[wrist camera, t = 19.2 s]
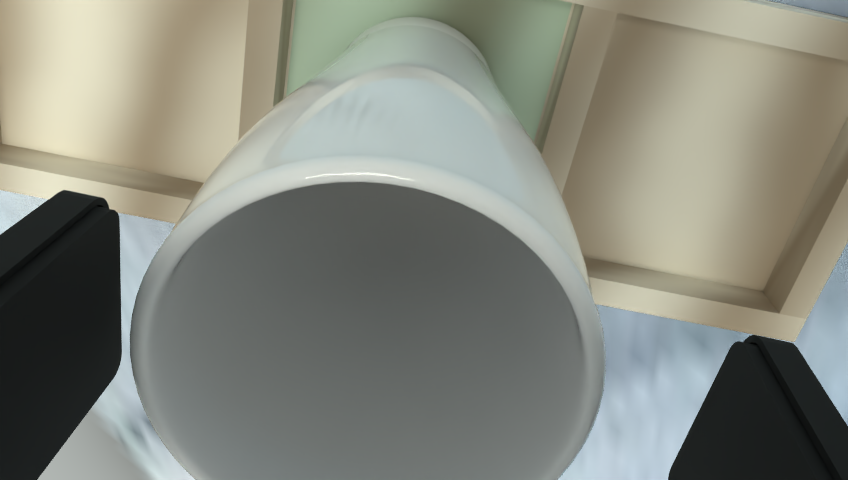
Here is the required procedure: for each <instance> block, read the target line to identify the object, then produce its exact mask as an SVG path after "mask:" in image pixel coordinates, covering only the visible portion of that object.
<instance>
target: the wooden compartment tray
mask: <svg viewBox="0 0 848 480" xmlns="http://www.w3.org/2000/svg"><path fill="white" fill-rule="evenodd" d="M399 17H424V18H430V19H433V20H437V21H440V22H443V23H445V24H447V25H449V26H451V27H453V28H455V29H456V30H458V31H459V32H461V33H462V34H464V35H465V36H466V37H467V38H469V39H470V40H471V41H472V42H473V43H474V44H475V46H476V47H477V48H478V49H479V51H480V52H481V54H482V55H483V57H484V58H485V60H486V62H487V64H488V66H489V68H490V70H491V73H492V75H493V79H494V82H495V83H496V85H497V86H498V88H499V90H500V91H501V93H502V94H503V96H504V97H505V99H506V101H507V102H508V104H509V105H510V107H511V108H512V110H513V111H514V113H515V114H516V116H517V117H518V119H519V120H520V122H521V123H522V125H523V126H524V128H525V129H526V131H527V132H528V134H529V135H530V137H531V138H532V140H533V142H534V143H535V145H536V146H537V148H538V150H539V151H540V153H541V155H542V157H543V158H544V160H545V162H546V164H547V166H548V168H549V170H550V172H551V174H552V175H553V177H554V179H555V182H556V184H557V186H558V188H559V190H560V192H561V195H562V197H563V200H564V202H565V205H566V207H567V210H568V213H569V215H570V218H571V220H572V223H573V226H574V229H575V231H576V234H577V237H578V240H579V244H580V247H581V250H582V253H583V257H584V261H585V264H586V268H587V272H588V276H589V279H590V283H591V287H592V291H593V295H594V299H595V303H596V304H598V305H603V306H608V307H614V308H619V309H624V310H629V311H634V312H640V313H645V314H650V315H655V316H661V317H666V318H671V319H676V320H681V321H687V322H692V323H697V324H702V325H707V326H713V327H718V328H723V329H728V330H734V331H739V332H744V333H749V334H754V335H760V336H765V337H770V338H775V339H781V340H786V341H791V342H795V340H796V338H797V336H798V335H799V333H800V331H801V329H802V327H803V325H804V323H805V321H806V319H807V318H808V316H809V314H810V312H811V310H812V308H813V306H814V304H815V302H816V301H817V299H818V297H819V295H820V293H821V291H822V289H823V287H824V285H825V284H826V282H827V280H828V278H829V276H830V274H831V272H832V270H833V268H834V267H835V265H836V263H837V261H838V259H839V257H840V255H841V253H842V251H843V250H844V248H845V246H846V244H847V242H848V18H847V17H843V16H838V15H833V14H829V13H824V12H819V11H815V10H810V9H805V8H801V7H796V6H791V5H787V4H782V3H777V2H772V1H768V0H0V190H3V191H9V192H14V193H19V194H24V195H29V196H35V197H40V198H45V199H50V198H51V197H53V196H54V195H56V194H57V193H58V192H60V191H62V190H68V191H73V192H78V193H83V194H87V195H92V196H97V197H102V198H104V199H105V200H106V201H107V203H108V205H109V209H112V210H115V211H116V212H118V213H123V214H129V215H134V216H139V217H144V218H149V219H155V220H160V221H165V222H170V223H175V224H176V223H177V222H178V220H179V219H180V217H181V215H182V214H183V213H184V211H185V210H186V208H187V207H188V205H189V204H190V202H191V201H192V199H193V198H194V197H195V195H196V194H197V192H198V191H199V189H200V188H201V186H202V185H203V184H204V182H205V181H206V180H207V178H208V177H209V176H210V174H211V173H212V172H213V171H214V169H215V168H216V167H217V166H218V164H219V163H220V162H221V161H222V159H223V158H224V157H225V156H226V155H227V154H228V153H229V151H230V150H231V149H232V148H233V147H234V146H235V145H236V143H237V142H238V141H239V140H240V139H241V138H242V137H243V136H244V134H245V133H246V132H247V131H248V130H249V129H250V128H251V127H252V126H253V125H254V124H256V123H257V122H258V121H259V120H260V119H261V118H262V117H263V116H264V115H265V114H266V113H267V112H269V111H270V110H271V109H272V108H273V107H274V106H275V105H276V104H278V103H279V102H280V101H281V100H283V99H284V98H285V97H286V96H288V95H289V94H290V93H292V92H293V91H294V90H296V89H297V88H298V87H300V86H301V85H302V84H304V83H305V82H306V81H308V80H309V79H310V78H312V77H313V76H314V75H316V74H317V73H318V72H319V71H321V70H322V69H323V68H325V67H326V66H327V65H329V64H330V63H331V62H332V61H334V60H335V59H336V58H337V57H339V56H340V55H341V54H342V53H343V51H344V50H345V49H346V47H347V46H348V45H349V44H350V43H351V42H352V41H353V40H354V39H355V38H356V37H357V36H358V35H360V34H361V33H362V32H364V31H365V30H367V29H368V28H370V27H372V26H374V25H376V24H378V23H380V22H383V21H386V20H389V19H394V18H399Z"/></svg>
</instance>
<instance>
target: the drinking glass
mask: <svg viewBox="0 0 848 480" xmlns="http://www.w3.org/2000/svg"><path fill="white" fill-rule="evenodd" d="M130 356H131V363H132V370H133V376H134V380H135V384H136V388H137V391H138V395H139V397H140V400H141V402H142V405H143V408H144V410H145V412H146V414H147V416H148V418H149V420H150V422H151V424H152V426H153V428H154V430H155V431H156V433H157V434H158V436H159V438H160V439H161V441H162V442H163V444H164V445H165V446H166V448H167V449H168V450H169V452H170V453H171V454H172V455H173V457H174V458H175V459H176V460H177V461H178V462H179V464H180V465H181V466H182V467H183V468H184V469H185V470H186V471H187V472H188V473H189V474H190V475H191V476H192V477H193V478H194V479H195V480H557V479H558V478H559V477H560V476H561V475H562V474H563V473H564V472H565V471H566V469H567V468H568V467H569V466H570V464H571V463H572V462H573V461H574V459H575V458H576V456H577V455H578V453H579V452H580V450H581V449H582V447H583V445H584V444H585V442H586V440H587V438H588V436H589V434H590V432H591V430H592V428H593V425H594V423H595V420H596V417H597V414H598V412H599V408H600V404H601V400H602V396H603V391H604V383H605V374H606V349H605V342H604V334H603V328H602V325H601V321H600V317H599V313H598V309H597V307H596V303H595V299H594V295H593V291H592V287H591V283H590V279H589V276H588V272H587V268H586V264H585V261H584V257H583V253H582V250H581V247H580V244H579V240H578V237H577V234H576V231H575V229H574V226H573V223H572V220H571V218H570V215H569V213H568V210H567V207H566V205H565V202H564V200H563V197H562V195H561V192H560V190H559V188H558V186H557V184H556V182H555V179H554V177H553V175H552V174H551V172H550V170H549V168H548V166H547V164H546V162H545V160H544V158H543V157H542V155H541V153H540V151H539V150H538V148H537V146H536V145H535V143H534V142H533V140H532V138H531V137H530V135H529V134H528V132H527V131H526V129H525V128H524V126H523V125H522V123H521V122H520V120H519V119H518V117H517V116H516V114H515V113H514V111H513V110H512V108H511V107H510V105H509V104H508V102H507V101H506V99H505V97H504V96H503V94H502V93H501V91H500V90H499V88H498V86H497V85H496V83H495V82H494V79H493V75H492V73H491V70H490V68H489V66H488V64H487V62H486V60H485V58H484V57H483V55H482V54H481V52H480V51H479V49H478V48H477V47H476V46H475V44H474V43H473V42H472V41H471V40H470V39H469V38H467V37H466V36H465V35H464V34H462V33H461V32H459V31H458V30H456V29H455V28H453V27H451V26H449V25H447V24H445V23H443V22H440V21H437V20H433V19H430V18H424V17H399V18H394V19H389V20H386V21H383V22H380V23H378V24H376V25H374V26H372V27H370V28H368V29H367V30H365V31H364V32H362V33H361V34H360V35H358V36H357V37H356V38H355V39H354V40H353V41H352V42H351V43H350V44H349V45H348V46H347V47H346V49H345V50H344V51H343V53H342V54H341V55H340V56H339V57H337V58H336V59H335V60H334V61H332V62H331V63H330V64H329V65H327V66H326V67H325V68H323V69H322V70H321V71H319V72H318V73H317V74H316V75H314V76H313V77H312V78H310V79H309V80H308V81H306V82H305V83H304V84H302V85H301V86H300V87H298V88H297V89H296V90H294V91H293V92H292V93H290V94H289V95H288V96H286V97H285V98H284V99H283V100H281V101H280V102H279V103H278V104H276V105H275V106H274V107H273V108H272V109H271V110H270V111H269V112H267V113H266V114H265V115H264V116H263V117H262V118H261V119H260V120H259V121H258V122H257V123H256V124H254V125H253V126H252V127H251V128H250V129H249V130H248V131H247V132H246V133H245V134H244V136H243V137H242V138H241V139H240V140H239V141H238V142H237V143H236V145H235V146H234V147H233V148H232V149H231V150H230V151H229V153H228V154H227V155H226V156H225V157H224V158H223V159H222V161H221V162H220V163H219V164H218V166H217V167H216V168H215V169H214V171H213V172H212V173H211V174H210V176H209V177H208V178H207V180H206V181H205V182H204V184H203V185H202V186H201V188H200V189H199V191H198V192H197V194H196V195H195V197H194V198H193V199H192V201H191V202H190V204H189V205H188V207H187V208H186V210H185V211H184V213H183V214H182V215H181V217H180V219H179V220H178V222H177V223H176V225H175V226H174V228H173V229H172V231H171V232H170V234H169V236H168V237H167V238H166V240H165V241H164V243H163V244H162V245H161V247H160V248H159V250H158V251H157V253H156V254H155V256H154V257H153V259H152V261H151V263H150V265H149V267H148V269H147V271H146V273H145V275H144V277H143V280H142V282H141V285H140V288H139V290H138V293H137V296H136V300H135V305H134V309H133V313H132V320H131V330H130Z"/></svg>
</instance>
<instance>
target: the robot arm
mask: <svg viewBox="0 0 848 480" xmlns="http://www.w3.org/2000/svg"><path fill="white" fill-rule="evenodd" d="M121 354H122V343H121V285H120V227H119V215H118V213H117V212H116V211H115V210H112V209H109V205H108V203H107V201H106V200H105V199H104V198H102V197H97V196H92V195H87V194H83V193H78V192H73V191H68V190H62V191H60V192H58V193H57V194H56V195H54V196H53V197H51V198H50V199H49V200H47V201H46V202H45V203H43V204H42V205H40V206H39V207H38V208H36V209H35V210H34V211H32V212H31V213H30V214H28V215H27V216H25V217H24V218H23V219H21V220H20V221H19V222H17V223H16V224H15V225H13V226H12V227H10V228H9V229H8V230H6V231H5V232H4V233H2V234H1V235H0V480H37V479H38V478H39V476H40V475H41V474H42V472H43V471H44V470H45V469H46V467H47V466H48V465H49V463H50V462H51V460H52V459H53V458H54V457H55V455H56V454H57V453H58V451H59V450H60V449H61V447H62V446H63V445H64V443H65V442H66V441H67V439H68V438H69V437H70V435H71V434H72V433H73V431H74V430H75V429H76V427H77V426H78V425H79V423H80V422H81V421H82V419H83V418H84V417H85V415H86V414H87V413H88V411H89V410H90V409H91V407H92V406H93V405H94V403H95V402H96V401H97V399H98V398H99V397H100V396H101V394H102V393H103V392H104V390H105V389H106V388H107V386H108V385H109V384H110V382H111V381H112V380H113V378H114V376H115V375H116V373H117V371H118V368H119V365H120V361H121ZM668 480H848V426H847V424H846V423H845V421H844V420H843V418H842V417H841V415H840V414H839V412H838V410H837V409H836V407H835V406H834V404H833V403H832V401H831V400H830V398H829V396H828V395H827V393H826V392H825V390H824V389H823V387H822V386H821V384H820V382H819V381H818V379H817V378H816V376H815V375H814V373H813V372H812V370H811V368H810V367H809V365H808V364H807V362H806V361H805V359H804V358H803V356H802V354H801V353H800V351H799V350H798V348H797V347H796V346H795V345H794V344H793V343H790V342H785V341H781V340H776V339H771V338H766V337H762V336H757V335H752V336H749V337H748V338H747V339H746V340H745V341H744V342H735V343H734V344H733V345H732V347H731V348H730V350H729V352H728V354H727V356H726V358H725V360H724V362H723V364H722V366H721V368H720V370H719V372H718V374H717V376H716V378H715V380H714V382H713V384H712V386H711V388H710V390H709V392H708V394H707V396H706V398H705V400H704V402H703V404H702V406H701V408H700V410H699V412H698V414H697V416H696V418H695V420H694V422H693V424H692V426H691V428H690V430H689V432H688V435H687V437H686V439H685V441H684V443H683V445H682V447H681V449H680V451H679V453H678V455H677V457H676V459H675V461H674V463H673V465H672V467H671V470H670V473H669V477H668Z"/></svg>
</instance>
